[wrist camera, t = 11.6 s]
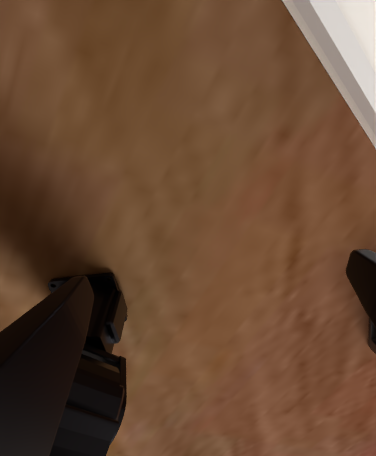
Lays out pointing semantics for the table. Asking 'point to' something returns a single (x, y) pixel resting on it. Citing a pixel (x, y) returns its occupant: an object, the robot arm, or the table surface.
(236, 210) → the table surface
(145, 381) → the table surface
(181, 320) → the table surface
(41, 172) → the table surface
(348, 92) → the guide track
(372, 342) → the phone stand
